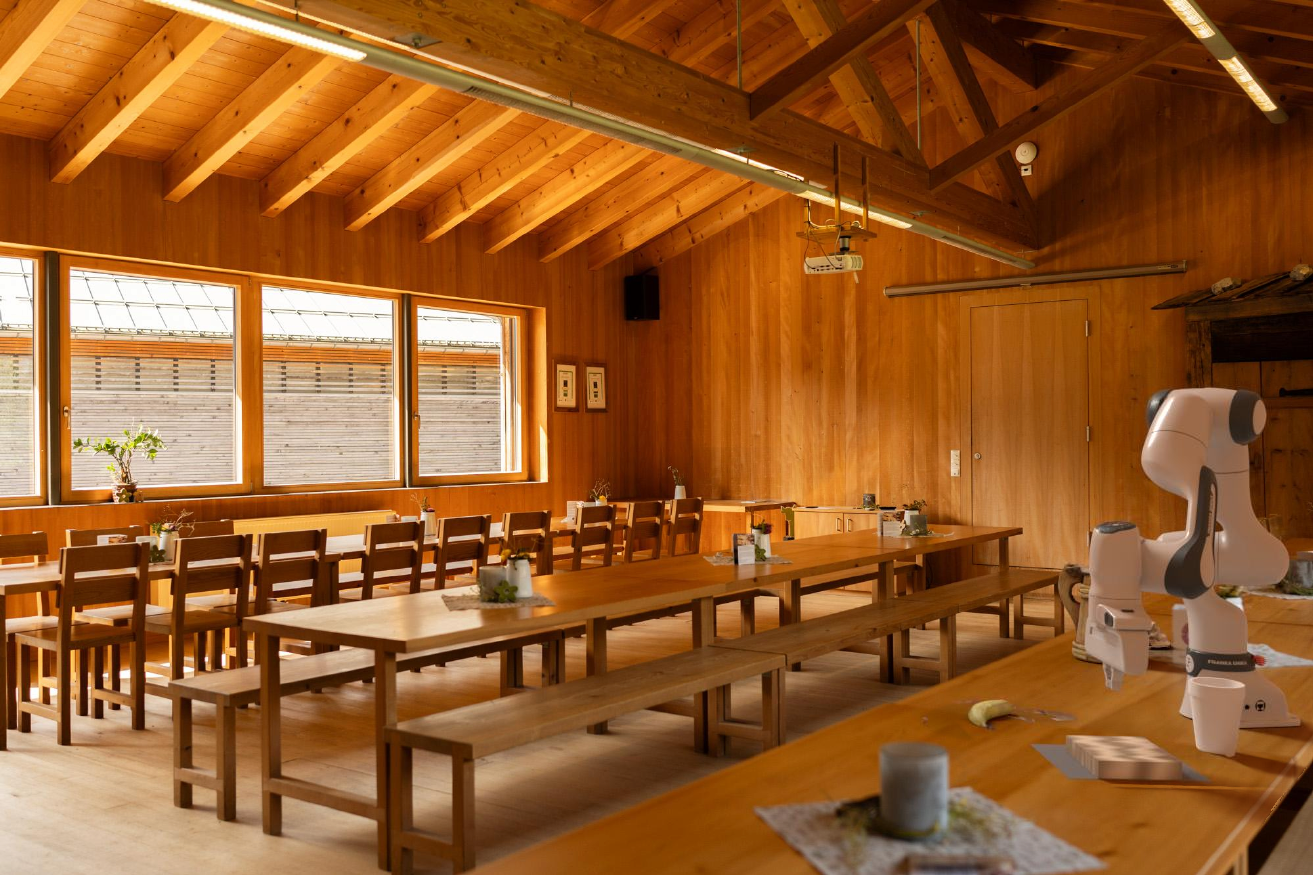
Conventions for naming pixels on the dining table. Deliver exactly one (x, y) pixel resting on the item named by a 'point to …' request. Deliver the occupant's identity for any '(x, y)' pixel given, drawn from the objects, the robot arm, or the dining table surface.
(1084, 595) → the tankard
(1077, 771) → the mat
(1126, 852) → the dining table surface
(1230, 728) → the foam cup
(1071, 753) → the table sign
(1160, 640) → the skull
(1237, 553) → the robot arm
